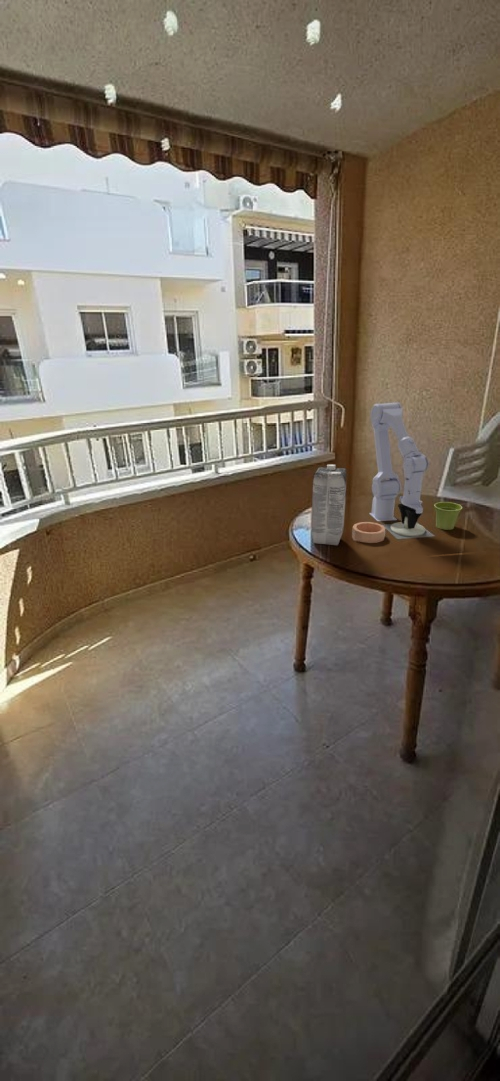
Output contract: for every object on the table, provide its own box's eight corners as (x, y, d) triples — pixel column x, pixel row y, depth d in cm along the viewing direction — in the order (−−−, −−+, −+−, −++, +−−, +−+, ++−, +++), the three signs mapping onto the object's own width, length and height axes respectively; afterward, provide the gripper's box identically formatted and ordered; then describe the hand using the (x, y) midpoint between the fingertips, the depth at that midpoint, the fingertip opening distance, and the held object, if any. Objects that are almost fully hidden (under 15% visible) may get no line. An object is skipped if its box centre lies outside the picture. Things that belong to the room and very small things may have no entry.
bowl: (348, 533, 161) (348, 523, 159) (377, 531, 162) (378, 521, 160) (358, 545, 151) (359, 534, 149) (389, 542, 152) (390, 532, 150)
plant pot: (461, 533, 157) (465, 510, 154) (433, 532, 159) (436, 509, 156) (455, 524, 166) (459, 502, 162) (429, 523, 168) (432, 501, 164)
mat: (381, 526, 166) (381, 524, 166) (416, 523, 167) (416, 522, 167) (396, 540, 153) (397, 538, 153) (434, 537, 154) (435, 536, 154)
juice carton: (340, 547, 149) (344, 470, 139) (310, 544, 152) (312, 468, 142) (343, 537, 157) (348, 463, 146) (314, 534, 160) (317, 462, 149)
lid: (385, 525, 165) (386, 513, 163) (415, 523, 166) (417, 511, 164) (398, 537, 154) (400, 524, 152) (431, 535, 155) (433, 522, 153)
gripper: (433, 495, 148) (428, 532, 153) (413, 483, 161) (409, 518, 166) (413, 496, 147) (408, 533, 152) (395, 484, 160) (391, 519, 166)
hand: (408, 525), depth 159 cm, fingers open, 4 cm apart
